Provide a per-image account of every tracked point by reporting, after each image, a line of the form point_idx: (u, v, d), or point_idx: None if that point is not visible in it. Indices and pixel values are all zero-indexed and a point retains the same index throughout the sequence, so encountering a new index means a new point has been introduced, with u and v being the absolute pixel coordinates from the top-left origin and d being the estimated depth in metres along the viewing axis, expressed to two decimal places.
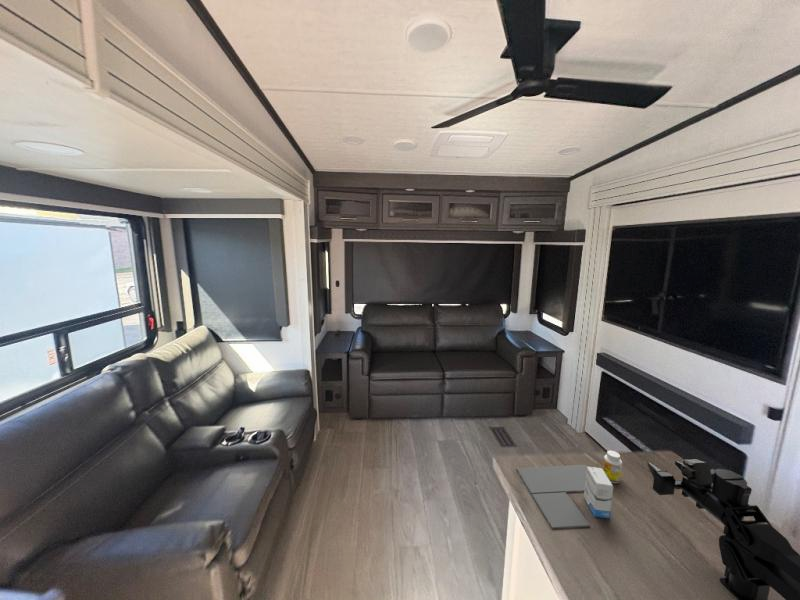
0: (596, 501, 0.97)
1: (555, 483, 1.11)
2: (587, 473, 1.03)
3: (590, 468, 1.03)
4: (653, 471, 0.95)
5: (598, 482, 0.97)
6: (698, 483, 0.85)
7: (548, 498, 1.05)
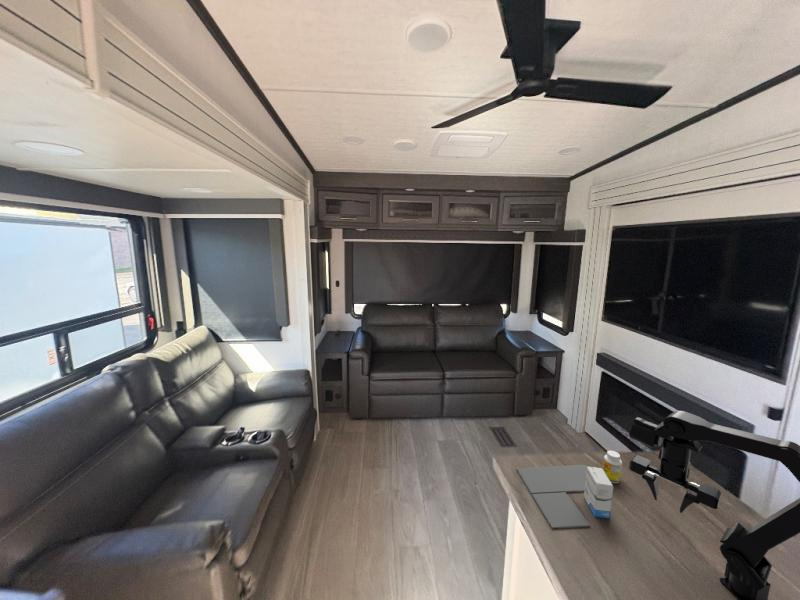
0: (596, 501, 0.97)
1: (555, 483, 1.11)
2: (587, 473, 1.03)
3: (590, 468, 1.03)
4: None
5: (598, 482, 0.97)
6: None
7: (548, 498, 1.05)
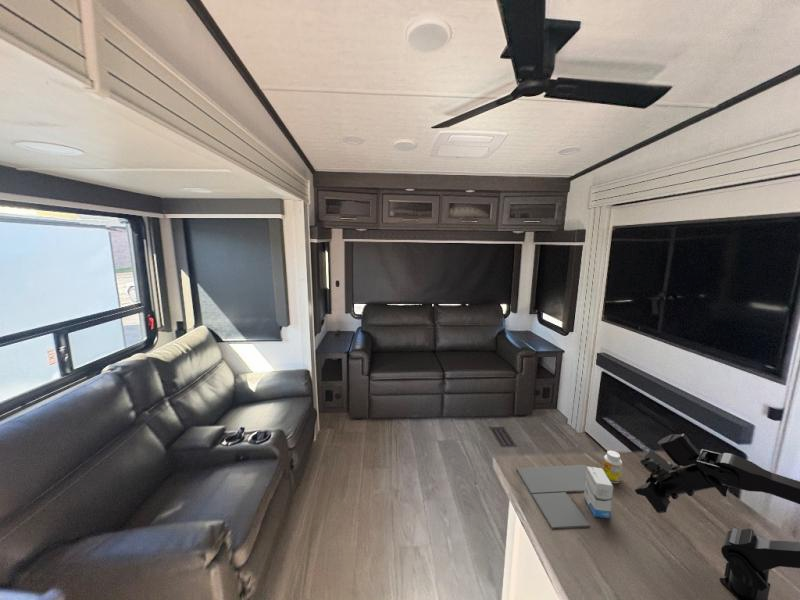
0: (596, 501, 0.97)
1: (555, 483, 1.11)
2: (587, 473, 1.03)
3: (590, 468, 1.03)
4: None
5: (598, 482, 0.97)
6: (666, 470, 0.84)
7: (548, 498, 1.05)
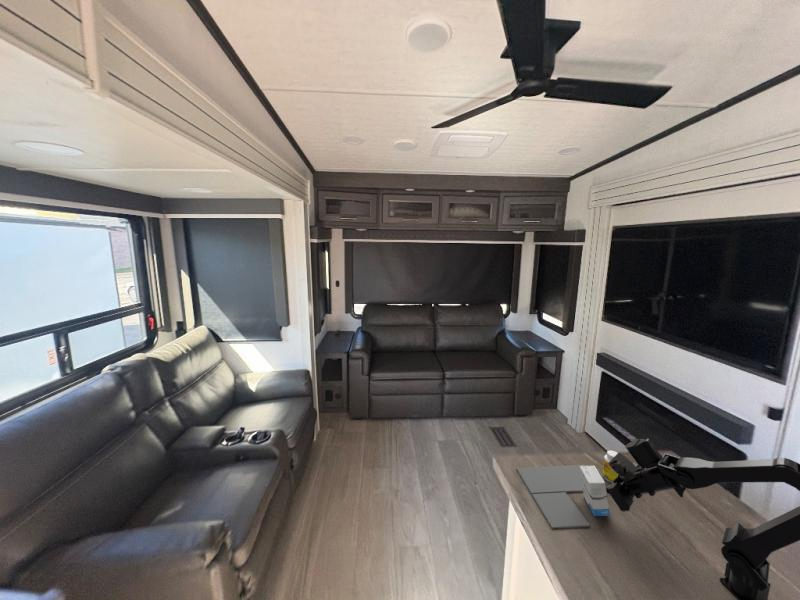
0: (593, 500, 0.97)
1: (555, 483, 1.11)
2: (581, 473, 1.04)
3: (583, 467, 1.03)
4: None
5: (590, 481, 0.97)
6: (631, 472, 0.91)
7: (548, 498, 1.05)
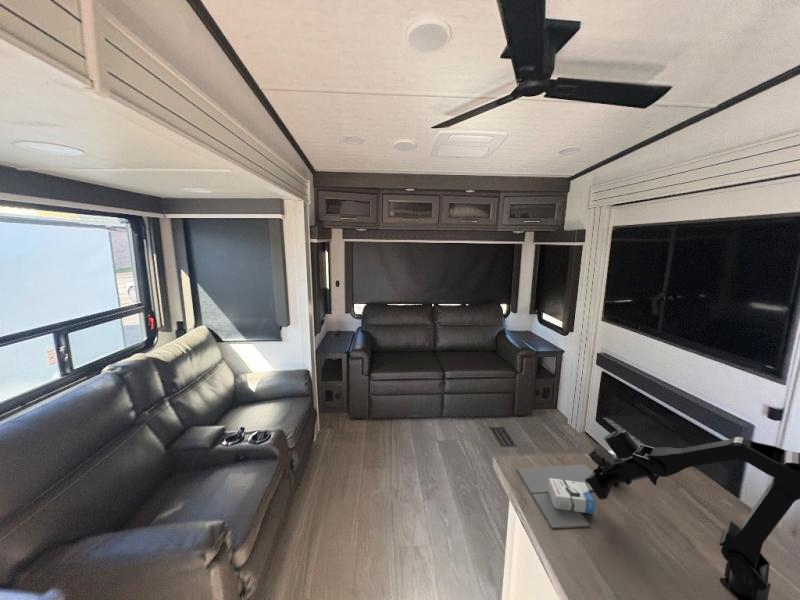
0: (575, 510, 0.99)
1: None
2: None
3: (548, 489, 1.07)
4: None
5: (553, 504, 1.01)
6: (610, 462, 0.95)
7: (548, 498, 1.05)
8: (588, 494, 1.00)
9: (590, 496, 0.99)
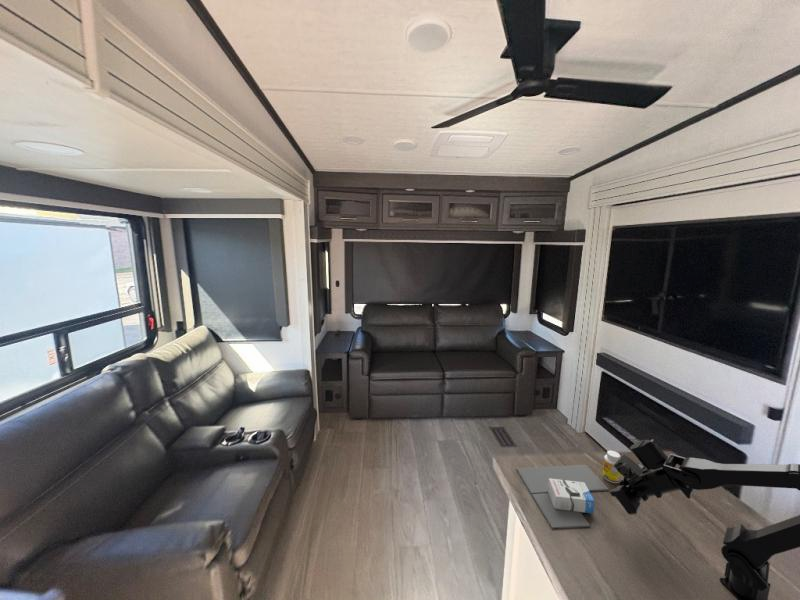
0: (574, 510, 0.99)
1: None
2: None
3: (548, 490, 1.07)
4: None
5: (553, 504, 1.01)
6: (637, 474, 0.90)
7: (548, 498, 1.05)
8: (587, 493, 1.00)
9: (590, 496, 0.99)
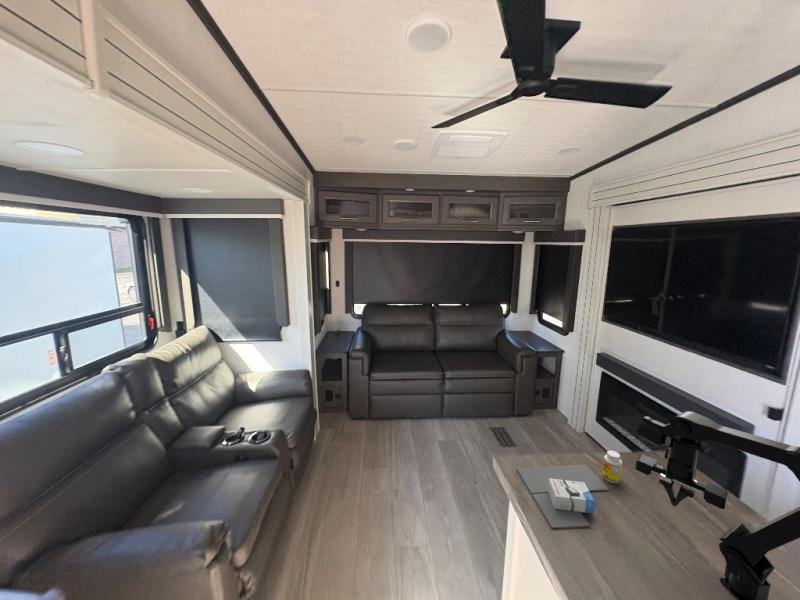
0: (574, 510, 0.99)
1: None
2: None
3: (548, 490, 1.07)
4: None
5: (553, 504, 1.01)
6: None
7: (548, 498, 1.05)
8: (587, 493, 1.00)
9: (590, 496, 0.99)
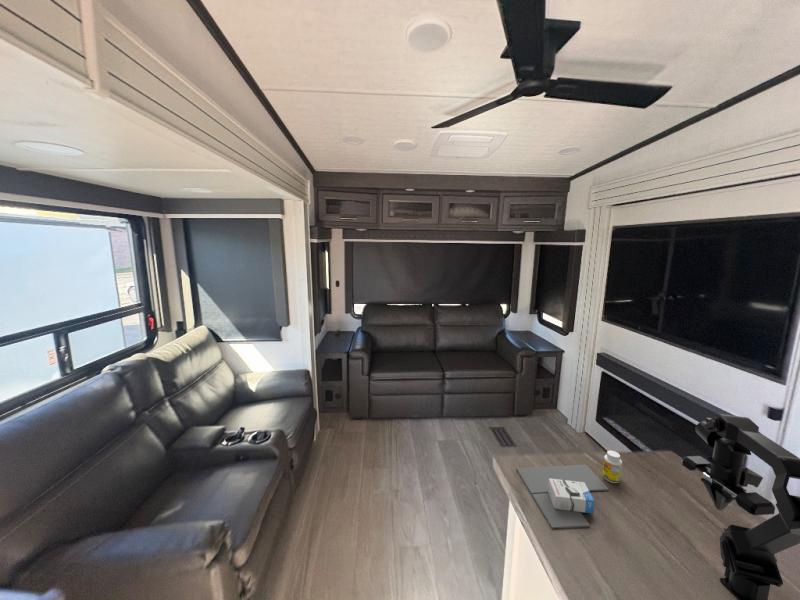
0: (574, 510, 0.99)
1: None
2: None
3: (548, 490, 1.07)
4: None
5: (553, 504, 1.01)
6: None
7: (548, 498, 1.05)
8: (587, 493, 1.00)
9: (590, 496, 0.99)
